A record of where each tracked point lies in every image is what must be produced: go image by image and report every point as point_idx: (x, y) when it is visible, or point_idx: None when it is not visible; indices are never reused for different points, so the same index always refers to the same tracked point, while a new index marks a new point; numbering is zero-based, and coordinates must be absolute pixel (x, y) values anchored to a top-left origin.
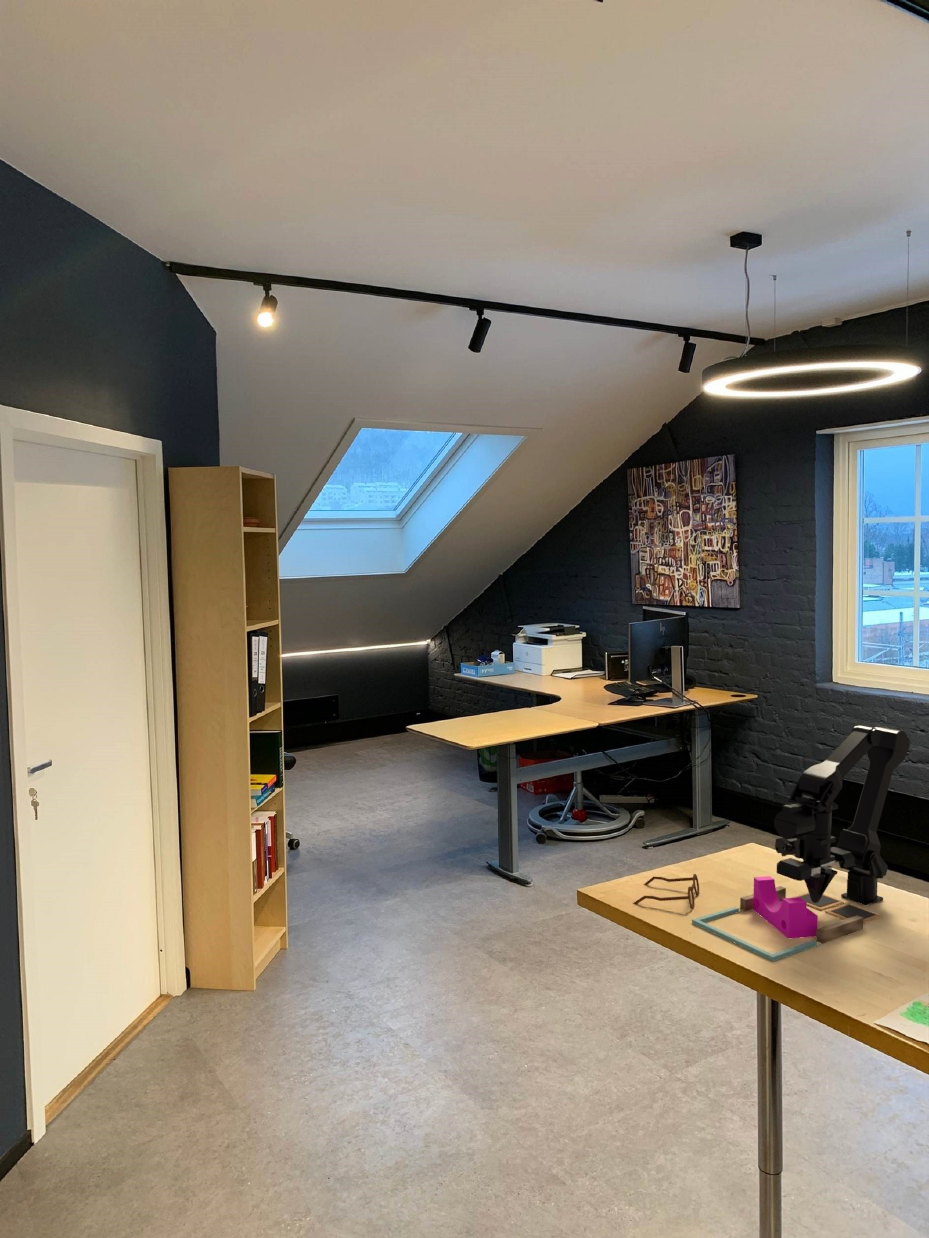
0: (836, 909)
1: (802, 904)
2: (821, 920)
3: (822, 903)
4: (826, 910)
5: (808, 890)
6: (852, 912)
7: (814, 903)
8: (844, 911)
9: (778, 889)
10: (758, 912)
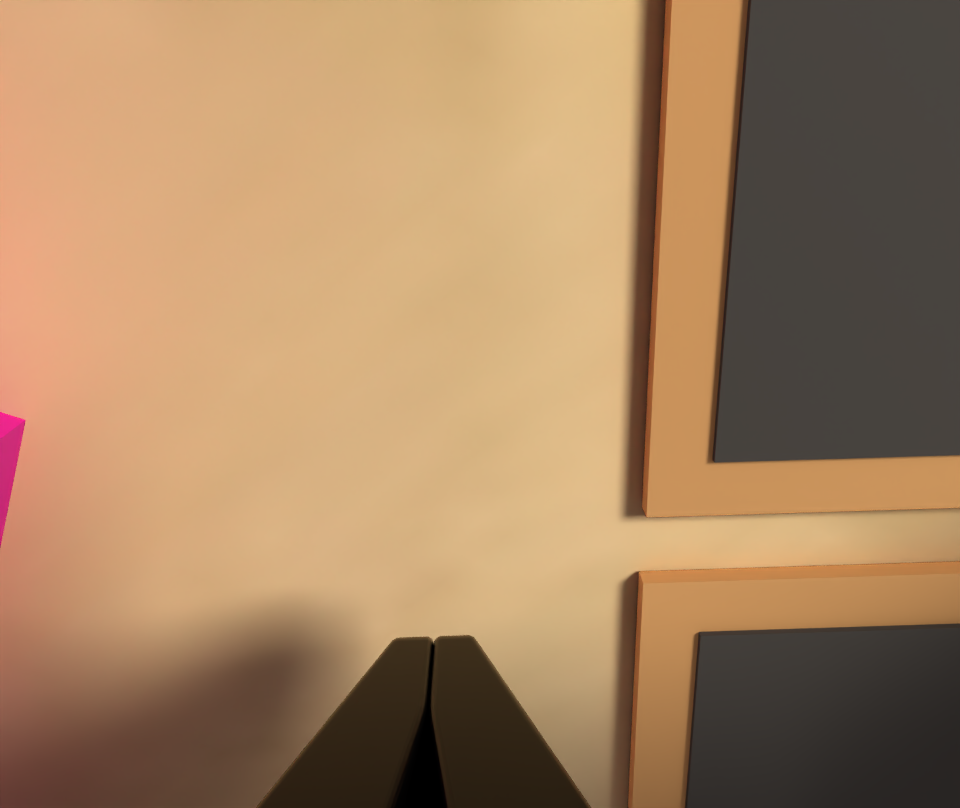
0: (828, 640)
1: None
2: None
3: (891, 379)
4: (676, 584)
5: (272, 797)
6: (902, 797)
7: (775, 310)
8: (844, 736)
9: None
10: None
